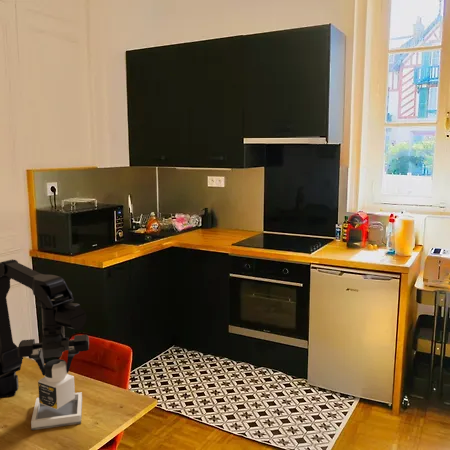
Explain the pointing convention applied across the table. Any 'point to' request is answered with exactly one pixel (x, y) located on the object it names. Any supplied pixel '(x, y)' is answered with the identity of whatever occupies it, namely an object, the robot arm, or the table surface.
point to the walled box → (57, 414)
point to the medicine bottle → (56, 385)
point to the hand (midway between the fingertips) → (55, 373)
